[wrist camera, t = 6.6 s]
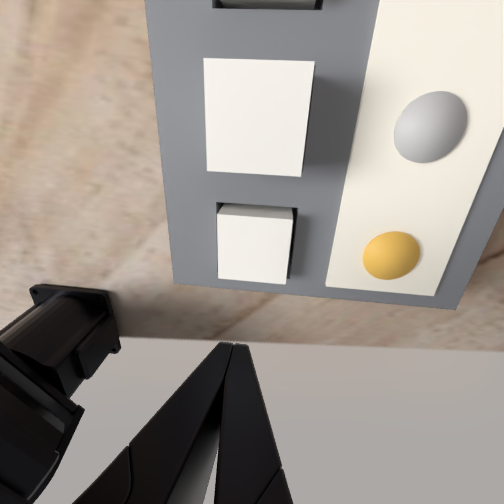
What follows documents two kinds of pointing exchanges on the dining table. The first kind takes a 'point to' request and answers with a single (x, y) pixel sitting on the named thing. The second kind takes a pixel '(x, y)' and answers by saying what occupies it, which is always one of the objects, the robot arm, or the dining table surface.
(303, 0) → the button
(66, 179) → the dining table surface
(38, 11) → the dining table surface
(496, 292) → the dining table surface
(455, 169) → the button panel
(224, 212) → the button
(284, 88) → the middle button
